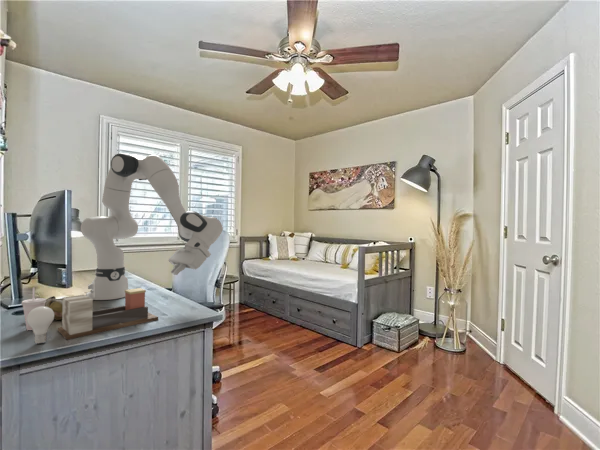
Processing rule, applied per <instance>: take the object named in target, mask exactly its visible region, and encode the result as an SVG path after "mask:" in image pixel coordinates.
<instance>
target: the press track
mask: <svg viewBox="0 0 600 450" xmlns="http://www.w3.org/2000/svg"><path fill="white" fill-rule="evenodd" d="M62 299H63V305H62V319H61V320H62V321H61V322H62V324H61V325H62V326H59V327H57V332H59V333H60V334H61V336H62V337H63V338H64V339H65V340H66V341H68V340H73V339H76V338H81V337H86V336H89V335H94V334H99V333H104V332H108V331H114V330H118V329H123V328H126V327H132V326H136V325H141V324H145V323H149V322H153V321H158V320H159V316H158V315H155V314H152V313H151V312H149V307H148V306H146V305H145V307H140V308H135V309H129V310H125V305H120V306H114V307H109V308H108V307H107V308H103V309H97V310H96V309H95V310H94V309H93V302H94V300H92V299H91V298H89V297H87V296H86V294H80V295H73V296H64V297H62Z"/></svg>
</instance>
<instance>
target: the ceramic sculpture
mask: <svg viewBox="0 0 600 450" xmlns="http://www.w3.org/2000/svg"><path fill="white" fill-rule="evenodd" d="M45 299H46V302H45V306H46V307H49V308H51V309H52V310H53V312H54V319H53V320H56V321H57V320H59V321H60V320H62V305H63V298H56V296H50V297H47V298H45Z"/></svg>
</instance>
